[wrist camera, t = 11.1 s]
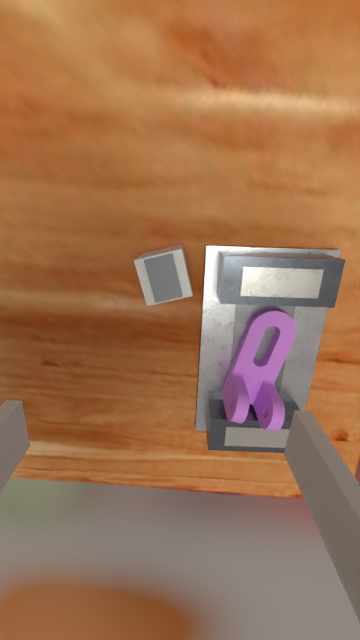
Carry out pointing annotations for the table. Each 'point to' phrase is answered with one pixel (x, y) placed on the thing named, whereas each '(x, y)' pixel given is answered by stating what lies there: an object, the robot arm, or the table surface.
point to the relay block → (164, 275)
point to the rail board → (231, 321)
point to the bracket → (259, 371)
